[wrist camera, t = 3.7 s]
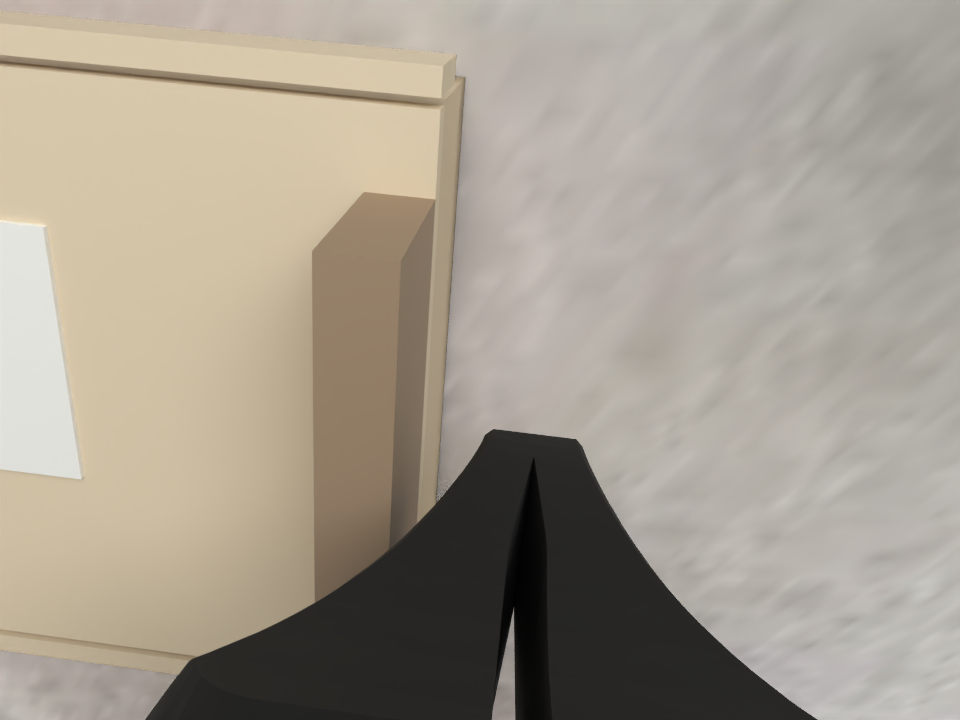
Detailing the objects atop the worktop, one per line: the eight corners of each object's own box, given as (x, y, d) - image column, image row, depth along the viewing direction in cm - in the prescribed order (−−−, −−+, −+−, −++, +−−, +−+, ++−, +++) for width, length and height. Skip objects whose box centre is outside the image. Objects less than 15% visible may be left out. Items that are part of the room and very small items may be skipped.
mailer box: (434, 522, 20) (403, 647, 16) (-136, 450, 21) (-285, 554, 17) (465, 76, 15) (432, 114, 12) (-260, 6, 16) (-497, 21, 13)
